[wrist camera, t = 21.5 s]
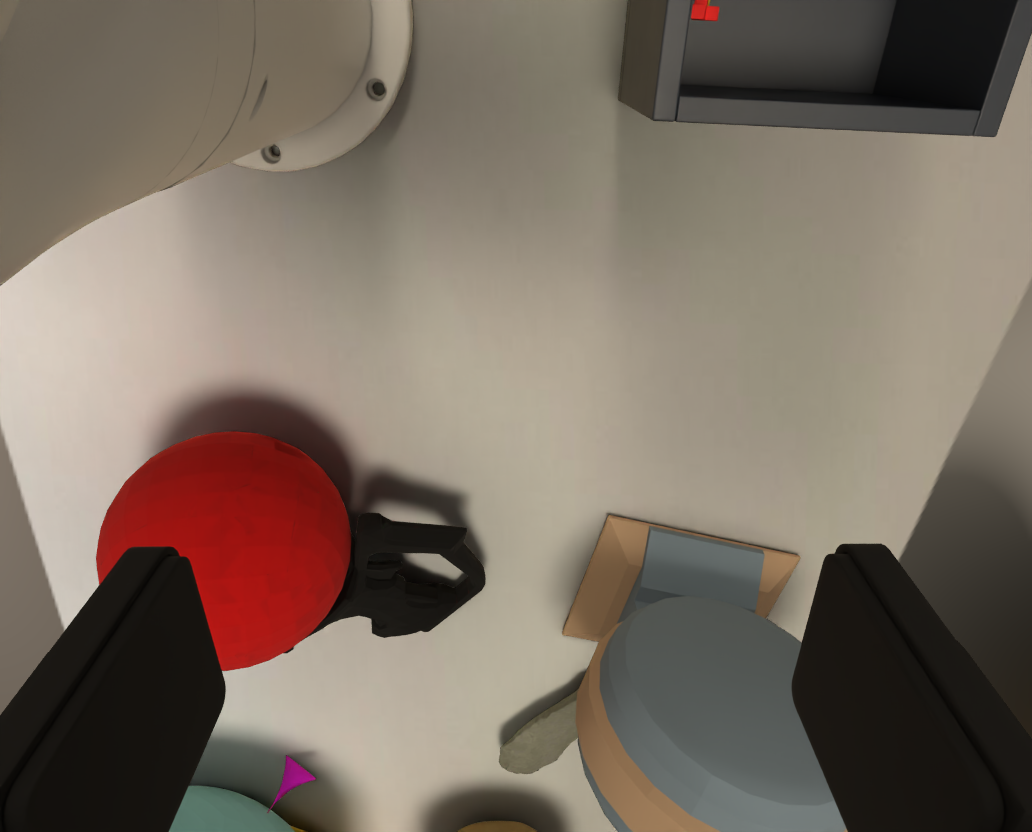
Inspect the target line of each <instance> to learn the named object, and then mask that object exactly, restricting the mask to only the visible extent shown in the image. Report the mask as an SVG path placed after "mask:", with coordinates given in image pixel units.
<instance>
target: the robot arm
mask: <svg viewBox="0 0 1032 832" xmlns="http://www.w3.org/2000/svg"><path fill="white" fill-rule="evenodd" d="M412 33H413V9H412V0H0V286H1V285H2V284H3V283H5V282H6V281H7V280H9V279H10V278H11V277H12V276H14V275H15V274H16V273H18V272H19V271H20V270H21V269H23V268H24V267H25V266H27V265H28V264H29V263H30V262H32V261H33V260H34V259H36V258H37V257H38V256H40V255H41V254H42V253H44V252H45V251H47V250H48V249H49V248H51V247H52V246H54V245H55V244H57V243H58V242H60V241H61V240H63V239H65V238H66V237H68V236H69V235H71V234H73V233H74V232H76V231H77V230H79V229H81V228H82V227H84V226H86V225H87V224H89V223H91V222H93V221H95V220H97V219H99V218H100V217H102V216H105V215H107V214H109V213H111V212H113V211H115V210H117V209H119V208H122V207H124V206H126V205H128V204H130V203H133V202H135V201H137V200H139V199H142V198H144V197H146V196H149V195H151V194H153V193H156V192H159V191H162V190H165V189H168V188H170V187H173V186H175V185H177V184H180V183H182V182H184V181H187V180H189V179H191V178H194V177H196V176H198V175H201V174H203V173H205V172H208V171H210V170H212V169H215V168H217V167H219V166H222V165H224V164H227V163H229V162H230V163H233V164H235V165H238V166H241V167H247V168H252V169H257V170H262V171H297V170H302V169H307V168H311V167H316V166H320V165H322V164H324V163H327V162H329V161H331V160H333V159H335V158H338V157H340V156H342V155H344V154H345V153H347V152H348V151H350V150H351V149H353V148H354V147H356V146H358V145H359V144H360V143H361V142H362V141H363V140H364V139H365V138H366V137H367V136H368V135H369V134H371V133H372V132H373V131H374V130H375V129H376V128H377V127H378V125H379V124H380V123H381V121H382V120H383V118H384V117H385V115H386V114H387V113H388V111H389V110H390V108H391V107H392V106H393V103H394V101H395V99H396V97H397V95H398V92H399V90H400V88H401V86H402V83H403V81H404V79H405V74H406V70H407V66H408V62H409V58H410V54H411V49H412ZM376 82H380V83H382V84H383V86H384V89H385V90H384V93H383V94H382V95H378V94H377V93H376V92H375V91H374V84H375V83H376ZM273 145H276V146H277V147H278V148H279V149H280V152H281V153H280V156H275V155H274V154H273V153H272V150H271V149H272V146H273ZM791 690H792V697H793V702H794V705H795V708H796V710H797V713H798V715H799V717H800V720H801V722H802V724H803V727H804V729H805V732H806V734H807V736H808V739H809V741H810V743H811V746H812V748H813V751H814V753H815V755H816V758H817V760H818V762H819V765H820V767H821V770H822V772H823V774H824V777H825V779H826V781H827V784H828V786H829V789H830V791H831V793H832V796H833V798H834V800H835V803H836V805H837V807H838V810H839V812H840V815H841V817H842V819H843V822H844V824H845V826H846V829H847V831H848V832H1032V739H1031V737H1030V736H1029V734H1028V733H1027V732H1026V730H1025V729H1024V728H1023V726H1022V725H1021V724H1020V722H1019V721H1018V720H1017V718H1016V717H1015V716H1014V714H1013V713H1012V712H1011V710H1010V709H1009V708H1008V706H1007V705H1006V703H1005V702H1004V701H1003V699H1002V698H1001V697H1000V696H999V694H998V693H997V691H996V690H995V689H994V687H993V686H992V684H991V683H990V682H989V681H988V679H987V678H986V676H985V675H984V674H983V673H982V671H981V670H980V668H979V667H978V666H977V664H976V663H975V662H974V660H973V659H972V657H971V656H970V655H969V653H968V652H967V651H966V650H965V648H964V647H963V646H962V645H961V644H960V643H959V642H958V641H957V640H955V638H954V637H953V635H952V634H951V633H950V631H949V630H948V629H947V627H946V626H945V625H944V623H943V622H942V621H941V619H940V618H939V616H938V615H937V614H936V613H935V611H934V610H933V608H932V607H931V605H930V604H929V603H928V601H927V600H926V599H925V597H924V596H923V595H922V593H921V592H920V591H919V589H918V588H917V586H916V585H915V584H914V583H913V581H912V580H911V578H910V577H909V576H908V574H907V573H906V572H905V570H904V569H903V567H902V566H901V565H900V563H899V562H898V561H897V559H896V558H895V557H894V555H893V554H892V552H891V551H890V550H889V549H888V548H887V547H886V546H885V545H882V544H842V545H840V546H839V547H838V548H837V549H836V552H835V554H828V555H827V556H826V557H825V559H824V562H823V565H822V569H821V573H820V576H819V580H818V584H817V588H816V591H815V595H814V599H813V603H812V607H811V610H810V614H809V618H808V622H807V625H806V629H805V633H804V637H803V640H802V644H801V648H800V652H799V655H798V659H797V663H796V667H795V670H794V674H793V678H792V686H791ZM225 692H226V688H225V681H224V677H223V674H222V670H221V667H220V663H219V660H218V656H217V653H216V649H215V646H214V642H213V639H212V635H211V632H210V628H209V625H208V621H207V618H206V614H205V611H204V607H203V604H202V600H201V597H200V593H199V590H198V586H197V583H196V579H195V576H194V572H193V569H192V565H191V563H190V560H189V559H188V558H187V557H184V556H180V555H179V553H178V551H177V550H176V549H175V548H174V547H170V546H138V547H131V548H128V549H127V550H126V551H125V552H124V553H123V555H122V556H121V557H120V559H119V560H118V561H117V563H116V564H115V565H114V566H113V568H112V569H111V570H110V572H109V573H108V574H107V576H106V577H105V578H104V580H103V581H102V582H101V584H100V585H99V586H98V588H97V589H96V590H95V592H94V593H93V594H92V596H91V597H90V598H89V600H88V601H87V602H86V604H85V605H84V606H83V607H82V609H81V610H80V611H79V613H78V614H77V615H76V617H75V618H74V619H73V621H72V622H71V623H70V625H69V626H68V627H67V629H66V630H65V631H64V633H63V634H62V635H61V637H60V638H59V639H58V641H57V642H56V643H55V645H54V646H53V647H52V649H51V650H50V651H49V652H48V653H47V654H46V656H45V657H44V658H43V660H42V661H41V662H40V664H39V665H38V666H37V668H36V669H35V670H34V671H33V673H32V674H31V675H30V677H29V678H28V679H27V681H26V682H25V683H24V685H23V686H22V687H21V689H20V690H19V691H18V693H17V694H16V695H15V697H14V698H13V699H12V700H11V702H10V703H9V705H8V706H7V707H6V708H5V710H4V711H3V712H2V714H1V715H0V832H169V830H170V828H171V826H172V823H173V821H174V819H175V816H176V814H177V812H178V809H179V807H180V805H181V802H182V800H183V798H184V796H185V793H186V791H187V789H188V786H189V784H190V782H191V779H192V777H193V775H194V772H195V770H196V768H197V766H198V763H199V761H200V759H201V756H202V754H203V752H204V749H205V747H206V745H207V742H208V740H209V738H210V736H211V733H212V731H213V729H214V726H215V724H216V722H217V719H218V717H219V715H220V713H221V710H222V707H223V704H224V700H225Z"/></svg>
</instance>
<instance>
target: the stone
mask: <svg viewBox="0 0 1032 832" xmlns="http://www.w3.org/2000/svg"><path fill="white" fill-rule="evenodd" d="M578 690H579V689H578ZM578 690H577V691H575V692H574V693H572V694H571V695H569V696H568V697H566V698H565V699H563V700H562V701H560V702H559V703H557V704H556V705H554V706H552V707H551V708H549V709H547V710H546V711H544V712H543V713H541V714H540V715H538V716H536V717H535V718H534V719H532V720H531V721H529V722H528V723H527V724H526V725H525V726H523V727H522V728H521V729H520V730H519V731H517V732H516V733H515V735H514V736H513V737H511V738H510V740H509V741H508V742H507V743H505V744H504V745H503V746H502V747H501V748H500V757H499V763H500V765H501V766H502V767H503V768H504V769H506V770H507V771H510V772H513V773H516V774H519V773H522V774H531V773H533V772H535V771H538V770H539V769H540V768H542V767H543V766H545V765H548V764H551V763H553V762H554V761H556V760H557V759H558V757H559V756H560V755H561V754H562V753H563V751H564V750H565V749H566V747H568V746H569V744H570V743H571V742H573V741H575V740H576V739H577V738H578V732H577V728H576V723H575V720H576V703H577V692H578Z"/></svg>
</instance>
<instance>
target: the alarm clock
mask: <svg viewBox="0 0 1032 832" xmlns="http://www.w3.org/2000/svg"><path fill="white" fill-rule="evenodd" d="M799 560H800V556H799V555H794V554H789V553H785V552H780V551H775V550H771V549H766V548H761V547H757V546H752V545H747V544H743V543H738V542H733V541H729V540H724V539H719V538H715V537H710V536H705V535H701V534H696V533H691V532H687V531H682V530H677V529H673V528H668V527H663V526H659V525H654V524H649V523H645V522H640V521H635V520H631V519H626V518H621V517H617V516H612V515H608V518H607V520H606V523H605V525H604V528H603V530H602V533H601V535H600V538H599V540H598V543H597V546H596V548H595V551H594V553H593V556H592V558H591V561H590V563H589V566H588V568H587V571H586V573H585V576H584V578H583V581H582V583H581V586H580V589H579V591H578V594H577V596H576V599H575V601H574V604H573V606H572V609H571V611H570V614H569V616H568V619H567V621H566V624H565V626H564V629H563V631H562V635H566V636H572V637H577V638H582V639H587V640H593V641H598V642H599V643H598V646H597V648H596V650H595V653H594V655H593V657H592V659H591V662H590V664H589V666H588V669H587V671H586V673H585V676H584V678H583V680H582V683H581V685H580V688H579V690H578V692H577V703H576V720H575V723H576V728H577V732H578V746H579V750H580V754H581V759H582V763H583V768H584V772H585V775H586V777H587V779H588V782H589V784H590V786H591V788H592V790H593V792H594V794H595V796H596V798H597V800H598V802H599V804H600V806H601V808H602V810H603V812H604V814H605V816H606V817H607V818H608V819H609V821H610V822H611V823H612V825H613V826H614V827H615V828H616V830H617V831H618V832H848V831H847V829H846V826H845V824H844V822H843V819H842V817H841V815H840V812H839V810H838V807H837V805H836V803H835V800H834V798H833V796H832V793H831V791H830V789H829V786H828V784H827V781H826V779H825V777H824V774H823V772H822V770H821V767H820V765H819V762H818V760H817V758H816V755H815V753H814V751H813V748H812V746H811V743H810V741H809V739H808V736H807V734H806V732H805V729H804V727H803V724H802V722H801V720H800V717H799V715H798V713H797V710H796V708H795V705H794V702H793V697H792V690H791V686H792V678H793V674H794V670H795V667H796V663H797V659H798V655H799V652H800V648H801V644H802V643H801V642H800V641H799V640H797V639H796V638H795V637H794V636H792V635H791V634H789V633H788V632H786V631H785V630H783V629H781V628H780V627H778V626H777V625H775V624H774V623H772V622H771V621H769V620H767V619H766V617H767V616H768V614H769V612H770V610H771V609H772V607H773V605H774V603H775V602H776V600H777V598H778V596H779V595H780V593H781V591H782V590H783V588H784V586H785V584H786V583H787V581H788V579H789V577H790V576H791V574H792V572H793V570H794V569H795V567H796V565H797V564H798V562H799Z"/></svg>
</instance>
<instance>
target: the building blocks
mask: <svg viewBox="0 0 1032 832" xmlns="http://www.w3.org/2000/svg"><path fill="white" fill-rule="evenodd" d="M709 4H710V0H695V3H694V4H693V7H692V14H691V19H692V20H702V21H718V14H719V8H720V7H718V6H709Z"/></svg>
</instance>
